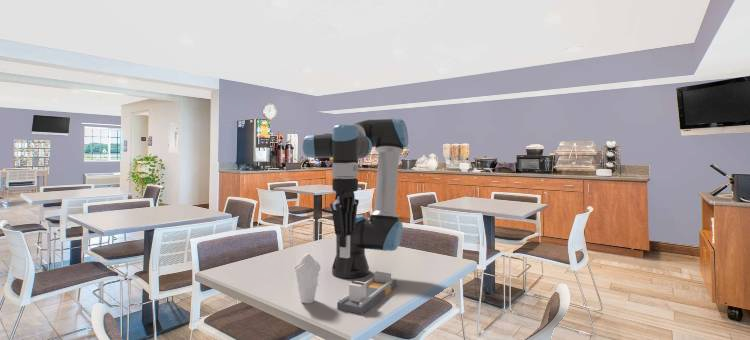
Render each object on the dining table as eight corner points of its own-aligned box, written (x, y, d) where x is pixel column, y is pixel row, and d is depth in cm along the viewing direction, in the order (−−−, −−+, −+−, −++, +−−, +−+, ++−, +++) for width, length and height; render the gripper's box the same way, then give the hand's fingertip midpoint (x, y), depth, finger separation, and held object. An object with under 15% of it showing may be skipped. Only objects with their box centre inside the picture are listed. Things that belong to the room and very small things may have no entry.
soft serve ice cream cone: (296, 296, 123) (296, 249, 122) (321, 295, 123) (321, 249, 123) (292, 306, 114) (292, 256, 114) (319, 305, 115) (319, 255, 114)
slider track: (337, 308, 113) (337, 293, 112) (374, 282, 137) (374, 269, 137) (362, 314, 109) (363, 298, 109) (396, 286, 133) (397, 272, 133)
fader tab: (348, 300, 114) (349, 283, 114) (355, 295, 118) (355, 279, 118) (360, 302, 112) (360, 285, 112) (366, 298, 116) (366, 281, 116)
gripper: (345, 179, 99) (344, 264, 100) (366, 177, 111) (366, 253, 112) (322, 178, 102) (321, 261, 103) (345, 176, 114) (345, 250, 115)
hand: (344, 257), depth 107 cm, fingers closed
